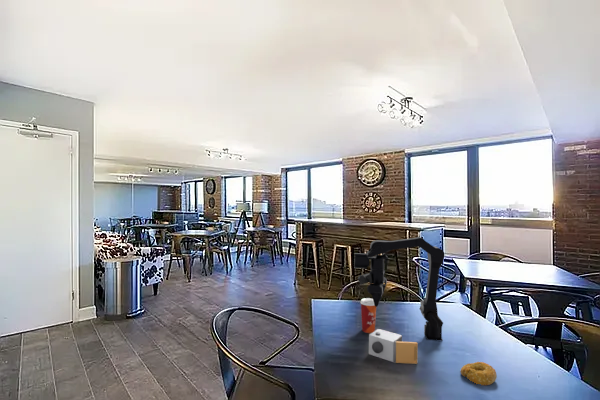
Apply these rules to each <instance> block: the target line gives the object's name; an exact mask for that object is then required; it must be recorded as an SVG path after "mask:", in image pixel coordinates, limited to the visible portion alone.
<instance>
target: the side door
mask: <svg viewBox="0 0 600 400" xmlns="http://www.w3.org/2000/svg"><path fill="white" fill-rule="evenodd" d="M418 344H419V343H418V342H416V341H402V342H401V341H394V362H393V363H394V364H412V365H415V364H416V365H417V364H418V354H419V353H418V346H419V345H418Z"/></svg>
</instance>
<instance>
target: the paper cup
mask: <svg viewBox="0 0 600 400" xmlns="http://www.w3.org/2000/svg"><path fill="white" fill-rule="evenodd" d="M359 303H360V310H361V311H360V312H361V314H360V316H361V331H362V332H363V333H366V334H371V333H373V332H374V331H376V320H377V319H376V316H377V307H375V305H374V301H373V298H370V297H366V298H365V297H364V298H362V299H361V300H360V302H359Z"/></svg>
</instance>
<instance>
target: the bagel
mask: <svg viewBox="0 0 600 400" xmlns="http://www.w3.org/2000/svg"><path fill="white" fill-rule="evenodd" d="M459 371H460V374H461V375H462V376H463V377H464V376H465V377H464V378H466V377H467V378H466V379H467V380H468V379H469V380H470V381H469V382H471V381H472V382H471V383H473V382H474V383H473V384H475V383H476V384H475V385H477V384H481V385H480V386H489V385H492V384H493V383H494V382H496V380H497V378H498V377H497V371H496V369H495V368H494V367H493V366H492V365H490V364H488V363H486V362H483V361H475V362H472V363H466V364H465V365H463V366H462V367H461V368H460V370H459Z"/></svg>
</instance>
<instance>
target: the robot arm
mask: <svg viewBox="0 0 600 400" xmlns="http://www.w3.org/2000/svg"><path fill="white" fill-rule="evenodd" d="M369 246H370V247H369V249H368V250H367V251H366V253H358V252H355V253H354V261H353V262H354V263H353V264H354V265H353V266H354V269H368V267H370V271H369V273H364V274H362V275H361V274H360V275H359V276H358V278H357V279H358V281H357V282H358V283H359V284H360V285H361V286H362V285H364V284H367V283H369V284H368V286H367V287H366V288H367V290H366V291H367V292H368V294H370V295H371V296H372V299H373V301H374V305H375V307H376V308H378V306H379V303H380V301H381V299H382V298H383V297H382V296H383V295H384V292H385V289H386V288H387V287H386V286H387V283H388V279H387V278H386V277H385V263H384V261H385V260H389V257H388V256H387V255H386V253H388V252H390V251H393V250H394V251H395V250H401V249H410V248H417V247H418V248H421V249H422V250H423V251H425V252H426V253H427V254H426V255H427V263H428V274H427V282H426V292H425V298H424V300H419V301H420V306H419V310H420V313H421V315H422V317H423V318H424V320H425V324H424V326H423V329H424V331H423V334H424V336H425V339H426V340H430V341H440V342H443V336H442V335H443V332H442V331H443V325H444V322H443V320H442V319H441V318H440V316H439V315H438V306H437V293H438V285H439V276H440V269H441V267H442V265H443V263H444V259H445V252H444V250H443V249H441V248H439V246H434V245H432V244H430V243H429V242H428V241H426V240H425V239H424V238H423V237H421V236H416V237H413V238H404V239H396V240H383V239H382V240H381V239H376V240H373V241H372V242H371V243H370V245H369Z"/></svg>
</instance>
